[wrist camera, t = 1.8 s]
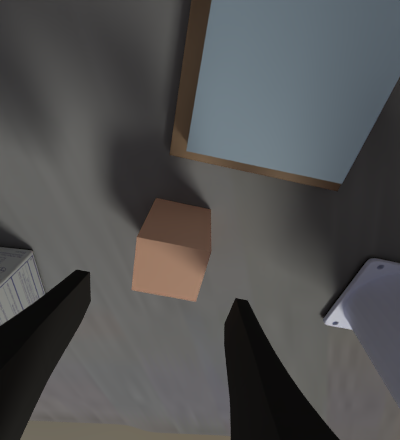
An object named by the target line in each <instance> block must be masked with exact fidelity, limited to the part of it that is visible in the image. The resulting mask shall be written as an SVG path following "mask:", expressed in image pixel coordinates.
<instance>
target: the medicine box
mask: <svg viewBox="0 0 400 440" xmlns="http://www.w3.org/2000/svg"><path fill="white" fill-rule="evenodd" d="M43 295H45V291H44V288H43V284H42V281H41V278H40V275H39V271H38V268H37V265H36V262H35V258H34V255H33V251H32V250H24V249H14V248H5V247H0V325H2V324H3V323H5V322H6V321H8V320H10V319H11V318H12V317H14V316H15V315H17V314H18V313H20V312H21V311H23V310H24V309H26V308H27V307H28V306H30V305H31V304H33V303H34V302H35V301H37V300H38V299H39V298H41V297H42V296H43Z"/></svg>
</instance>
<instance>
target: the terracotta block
mask: <svg viewBox="0 0 400 440" xmlns="http://www.w3.org/2000/svg"><path fill="white" fill-rule="evenodd" d="M210 254H211V209H206V208H201V207H197V206H192V205H187V204H182V203H178V202H173V201H168V200H164V199H159V198H156V199H155V201H154V203H153V205H152V207H151V209H150V211H149V213H148V215H147V217H146V219H145V222H144V224H143V226H142V228H141V230H140V232H139V234H138V236H137V242H136V252H135V262H134V272H133V281H132V290H134V291H140V292H145V293H151V294H156V295H162V296H167V297H173V298H178V299H184V300H190V301H195V302H196V299H197V296H198V293H199V290H200V287H201V283H202V280H203V277H204V274H205V270H206V267H207V264H208V261H209V257H210Z"/></svg>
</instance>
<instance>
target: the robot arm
mask: <svg viewBox="0 0 400 440" xmlns="http://www.w3.org/2000/svg"><path fill="white" fill-rule="evenodd" d="M90 301H91V296H90V272H87V271H81V270H76V271H74V272H73V273H72V274H70V275H69V276H68V277H67V278H65V279H64V280H63V281H62V282H60V283H59V284H58V285H56V286H55V287H54V288H53V289H51V290H50V291H49V292H47V293H46V294H45V295H43V296H42V297H41V298H39V299H38V300H37V301H35V302H34V303H33V304H31V305H30V306H28V307H27V308H26V309H24V310H23V311H21V312H20V313H18V314H17V315H15V316H14V317H12V318H11V319H10V320H8V321H6V322H5V323H3V324H2V325H0V440H20V438H21V436H22V434H23V432H24V429H25V427H26V425H27V423H28V421H29V419H30V417H31V414H32V412H33V410H34V408H35V406H36V404H37V402H38V400H39V397H40V395H41V393H42V391H43V389H44V387H45V385H46V383H47V381H48V379H49V377H50V375H51V374H52V372H53V370H54V368H55V366H56V365H57V363H58V361H59V360H60V358H61V356H62V354H63V353H64V351H65V349H66V348H67V346H68V344H69V343H70V341H71V339H72V337H73V336H74V334H75V332H76V330H77V329H78V327H79V325H80V323H81V322H82V319H83V317H84V315H85V313H86V311H87V308H88V306H89V304H90ZM323 321H324V323H325V324H326V325H329V326H335V327H340V328H346V329H351V330H353V331H354V333H355V334H356V336H357V338H358V340H359V341H360V343H361V345H362V346H363V348H364V350H365V351H366V353H367V355H368V356H369V358H370V360H371V361H372V363H373V365H374V366H375V368H376V370H377V371H378V373H379V375H380V376H381V378H382V380H383V381H384V383H385V385H386V386H387V388H388V390H389V391H390V393H391V395H392V397H393V398H394V400H395V402H396V403H397V405H398V407H399V408H400V263H397V262H392V261H387V260H382V259H377V258H371V259H369V260H368V261H366V263H365V264H364V265H363V267H362V268H361V269H360V271H359V272H358V273H357V275H356V276H355V277H354V279H353V280H352V281H351V283H350V284H349V285H348V287H347V288H346V289H345V291H344V292H343V293H342V295H341V296H340V297H339V299H338V300H337V301H336V303H335V304H334V305H333V306H332V308H331V309H330V310H329V312H328V313H327V314H326V316H325V317H324V319H323ZM224 346H225V357H226V367H227V376H228V386H229V396H230V417H231V440H339V438H338V437H337V436H336V435H335V434H334V433H333V432H332V430H331V429H330V428H329V427H328V426H327V424H326V423H325V422H324V421H323V419H322V418H321V417H320V416H319V414H318V413H317V412H316V411H315V409H314V408H313V407H312V406H311V404H310V403H309V402H308V400H307V399H306V398H305V396H304V395H303V394H302V392H301V391H300V390H299V388H298V387H297V385H296V384H295V382H294V381H293V380H292V378H291V377H290V375H289V374H288V372H287V371H286V369H285V368H284V366H283V364H282V363H281V361H280V360H279V358H278V356H277V355H276V353H275V351H274V350H273V348H272V346H271V344H270V343H269V341H268V339H267V337H266V335H265V334H264V332H263V330H262V328H261V326H260V324H259V322H258V320H257V318H256V316H255V314H254V312H253V310H252V308H251V306H250V304H249V302H248V301H247V300H243V299H237V298H235V301H234V303H233V305H232V308H231V310H230V312H229V315H228V317H227V319H226V322H225V327H224Z"/></svg>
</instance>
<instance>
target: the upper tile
mask: <svg viewBox="0 0 400 440" xmlns="http://www.w3.org/2000/svg"><path fill="white" fill-rule="evenodd" d="M399 77H400V0H212V1H211V7H210V13H209V19H208V25H207V31H206V37H205V43H204V49H203V55H202V61H201V66H200V72H199V78H198V84H197V90H196V96H195V102H194V108H193V114H192V120H191V126H190V132H189V138H188V144H187V150H186V151H188V152H193V153H198V154H202V155H207V156H212V157H217V158H221V159H226V160H231V161H236V162H240V163H245V164H250V165H255V166H259V167H264V168H269V169H274V170H278V171H283V172H288V173H293V174H297V175H302V176H307V177H312V178H316V179H321V180H326V181H331V182H335V183H340V184H342V183H343V181H344V179H345V177H346V176H347V174H348V172H349V170H350V168H351V166H352V164H353V163H354V161H355V159H356V157H357V155H358V153H359V152H360V150H361V148H362V146H363V144H364V142H365V140H366V139H367V137H368V135H369V133H370V131H371V129H372V127H373V126H374V124H375V122H376V120H377V118H378V116H379V114H380V113H381V111H382V109H383V107H384V105H385V103H386V101H387V100H388V98H389V96H390V94H391V92H392V90H393V88H394V87H395V85H396V83H397V81H398V79H399Z"/></svg>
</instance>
